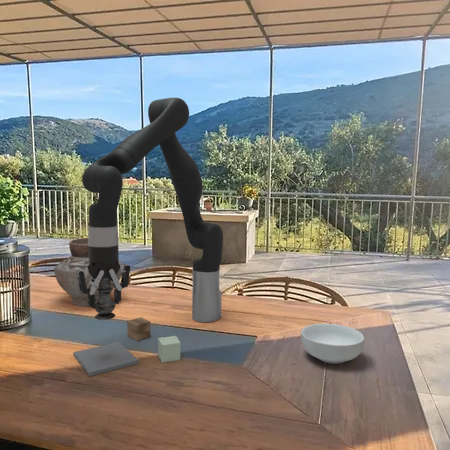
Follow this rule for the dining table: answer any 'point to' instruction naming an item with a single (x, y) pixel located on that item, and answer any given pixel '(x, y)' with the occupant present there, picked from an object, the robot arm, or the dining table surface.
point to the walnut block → (138, 329)
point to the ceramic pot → (68, 274)
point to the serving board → (105, 358)
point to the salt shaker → (105, 301)
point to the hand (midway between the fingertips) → (104, 305)
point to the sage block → (169, 349)
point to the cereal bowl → (332, 342)
